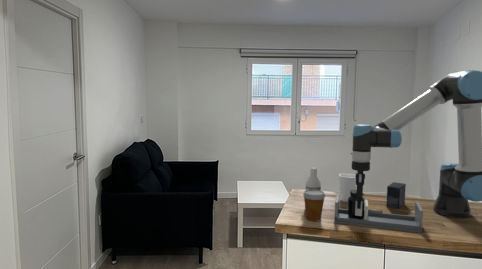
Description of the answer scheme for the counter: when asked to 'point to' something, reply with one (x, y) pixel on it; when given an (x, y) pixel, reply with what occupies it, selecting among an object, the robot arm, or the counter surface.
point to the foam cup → (346, 185)
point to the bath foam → (313, 181)
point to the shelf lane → (382, 219)
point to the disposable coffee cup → (313, 204)
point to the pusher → (369, 210)
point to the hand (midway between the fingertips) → (358, 212)
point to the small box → (396, 195)
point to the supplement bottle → (352, 206)
